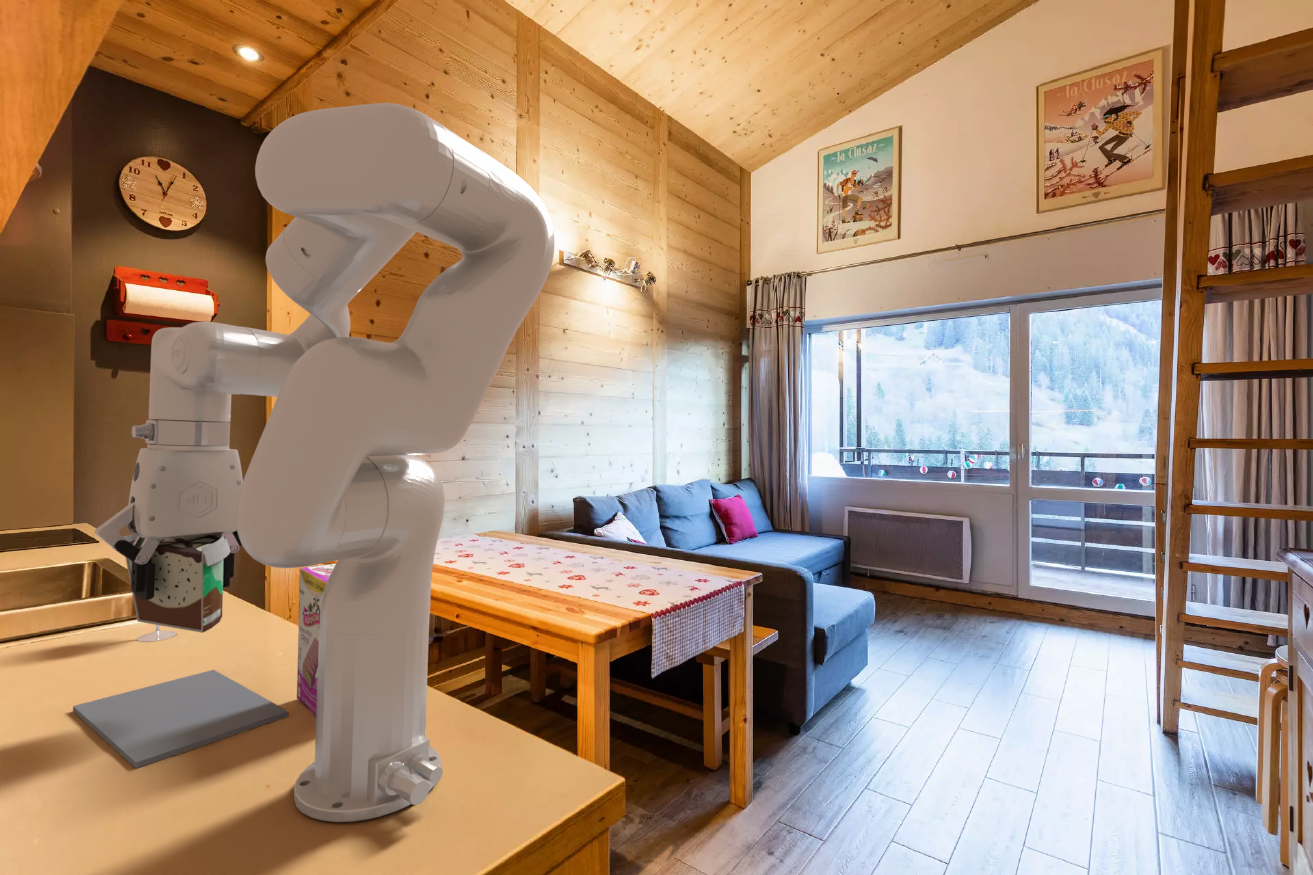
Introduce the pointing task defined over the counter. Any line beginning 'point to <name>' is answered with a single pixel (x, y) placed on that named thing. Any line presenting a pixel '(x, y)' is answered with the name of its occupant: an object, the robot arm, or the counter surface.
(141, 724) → the mat
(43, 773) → the counter surface
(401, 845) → the counter surface
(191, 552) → the food container
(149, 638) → the wineglass
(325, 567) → the candy bar box
